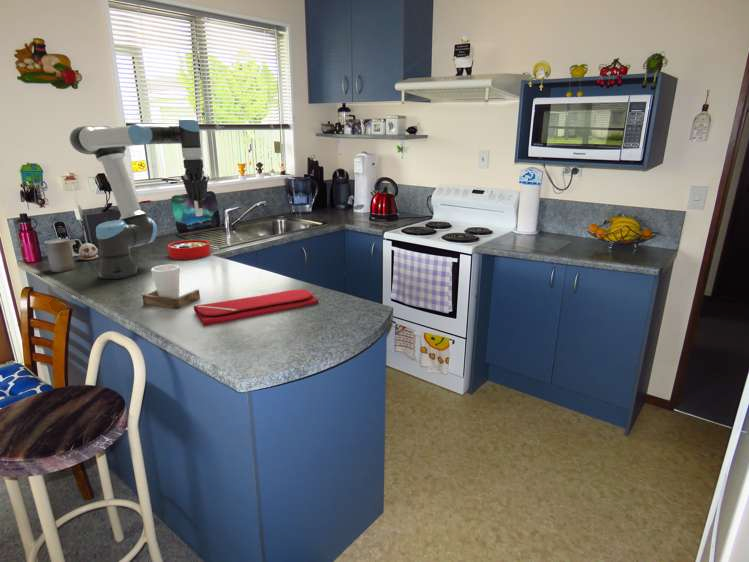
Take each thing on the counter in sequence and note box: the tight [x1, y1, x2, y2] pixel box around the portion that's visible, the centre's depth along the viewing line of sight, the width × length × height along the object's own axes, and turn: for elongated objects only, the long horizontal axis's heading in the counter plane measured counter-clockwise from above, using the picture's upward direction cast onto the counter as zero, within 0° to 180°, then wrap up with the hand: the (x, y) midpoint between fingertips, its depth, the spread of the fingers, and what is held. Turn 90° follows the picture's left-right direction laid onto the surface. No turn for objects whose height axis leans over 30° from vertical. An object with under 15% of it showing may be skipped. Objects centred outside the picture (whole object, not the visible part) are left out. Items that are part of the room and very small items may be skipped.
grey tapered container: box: [44, 238, 76, 273], centre depth 220 cm, size 10×10×15 cm
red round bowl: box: [167, 239, 211, 260], centre depth 247 cm, size 20×6×20 cm
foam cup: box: [150, 264, 181, 299], centre depth 177 cm, size 10×9×13 cm
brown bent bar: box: [141, 289, 201, 310], centre depth 178 cm, size 12×15×4 cm
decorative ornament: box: [78, 228, 100, 261], centre depth 239 cm, size 8×8×15 cm
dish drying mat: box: [193, 288, 319, 327], centre depth 171 cm, size 16×41×4 cm, turn 122°
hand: (199, 215), depth 203 cm, fingers closed
